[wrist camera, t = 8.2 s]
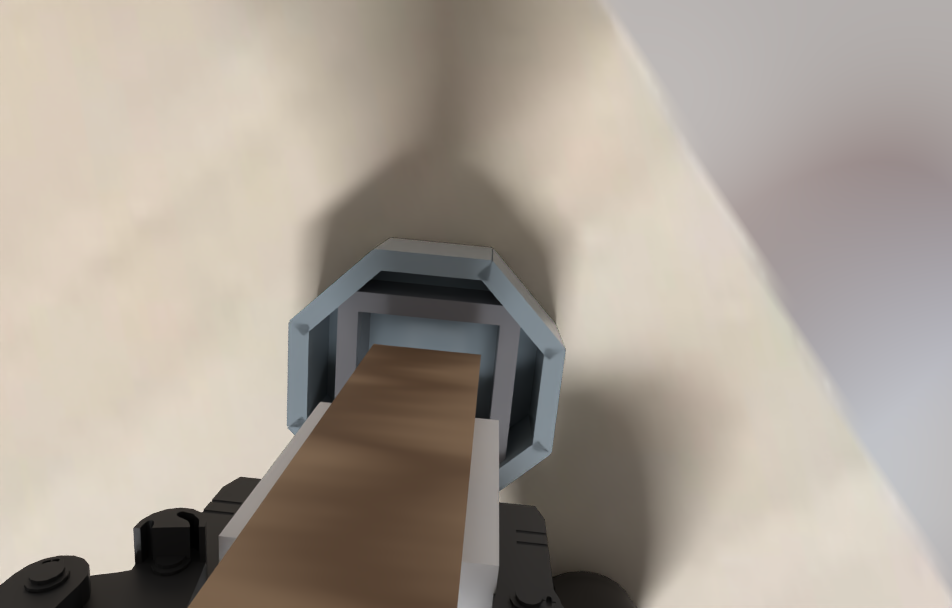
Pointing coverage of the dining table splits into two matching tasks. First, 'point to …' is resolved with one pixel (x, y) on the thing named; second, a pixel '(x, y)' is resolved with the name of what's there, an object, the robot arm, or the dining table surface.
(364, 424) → the wooden post
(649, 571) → the dining table surface
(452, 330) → the octagonal peg hole ring
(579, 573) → the mug
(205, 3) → the dining table surface
